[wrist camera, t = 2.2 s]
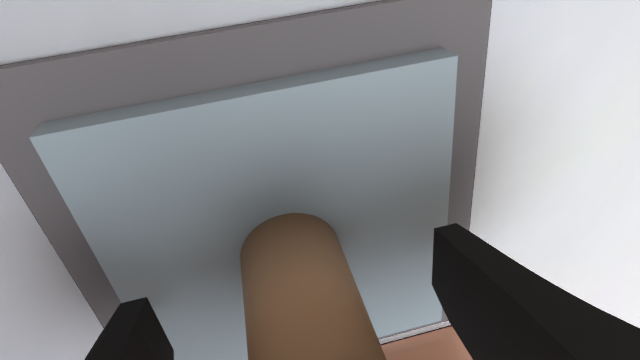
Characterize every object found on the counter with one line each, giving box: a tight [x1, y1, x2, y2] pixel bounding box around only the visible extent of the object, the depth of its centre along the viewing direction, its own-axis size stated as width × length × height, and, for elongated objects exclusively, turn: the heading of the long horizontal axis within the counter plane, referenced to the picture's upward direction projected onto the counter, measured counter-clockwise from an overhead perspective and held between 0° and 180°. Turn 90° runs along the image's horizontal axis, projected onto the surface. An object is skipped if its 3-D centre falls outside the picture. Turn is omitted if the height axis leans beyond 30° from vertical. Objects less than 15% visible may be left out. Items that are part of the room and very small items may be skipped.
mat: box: [0, 0, 492, 339], centre depth 12 cm, size 12×12×1 cm
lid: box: [29, 48, 458, 360], centre depth 10 cm, size 10×10×5 cm
